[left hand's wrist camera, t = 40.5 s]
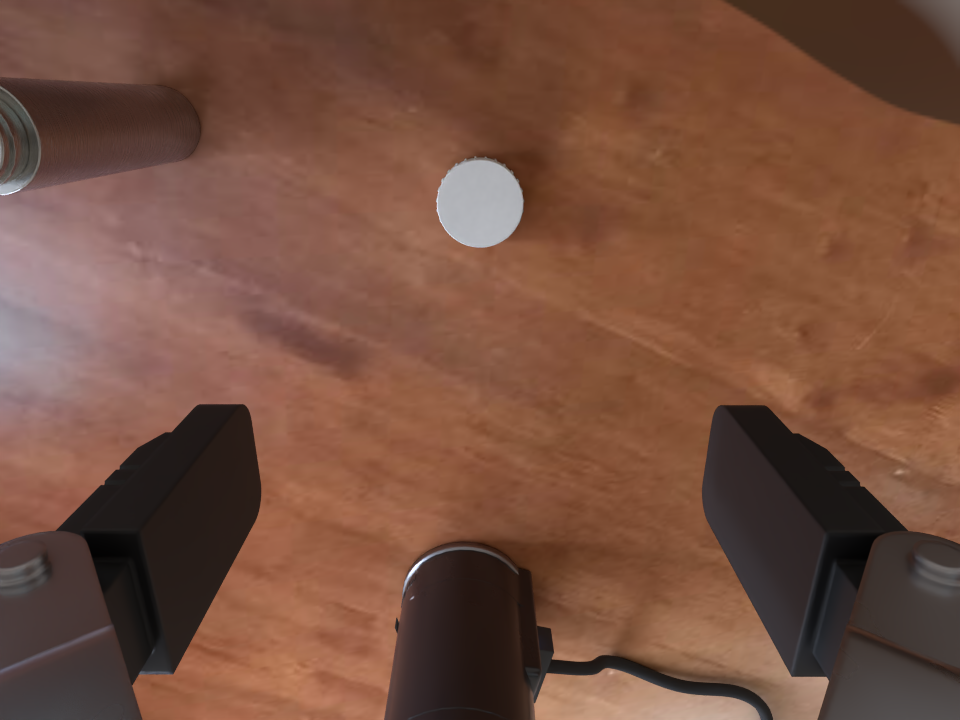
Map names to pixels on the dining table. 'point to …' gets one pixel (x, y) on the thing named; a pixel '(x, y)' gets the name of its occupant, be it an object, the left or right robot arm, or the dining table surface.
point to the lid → (480, 202)
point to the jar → (88, 130)
